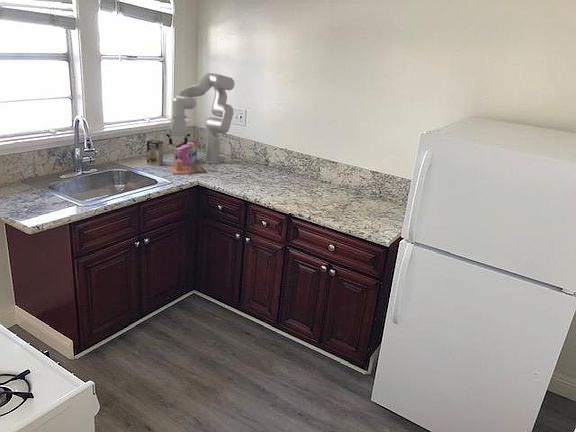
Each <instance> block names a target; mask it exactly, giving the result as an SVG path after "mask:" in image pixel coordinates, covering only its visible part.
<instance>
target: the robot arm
mask: <svg viewBox="0 0 576 432" xmlns="http://www.w3.org/2000/svg"><path fill="white" fill-rule="evenodd" d="M212 88H213V89H214V98H213V102H212V105H211V111H210V112H211V114H212V115H213V116H215V117H208V118H207V119H205V131H206V132H205V134H206V144H205V145H206V147H205V149H206V150H205V158H204V159H203V162H204V163H206V164H210V165H211V164H213V165H216V164H218V165H219V164H221V163H222V160H225V159H226V158H227V157H226V156H225V155H224V156H223V155H221V154H220V150H221V149H220V145H221V135H220V134H224V135H226V134H227V133H228V132H229V130H230V128H231V124H232V120H233V116H234V108H233V106H232V105H231V104H228V103H227V101H228V94H227V91H232V90H234V88H235V80H234V79H233V78H232V77H229V76H225V75H223V74H219V73H213V72H208V73H205V74H204V75H203V76H202V77H201V78H200V79H199V80H198V81H197V82H196V83H195V84H193V85H190V86H187V87H186V88H184V89H182V90H180V92H178V94H177V95H176V96H175V97H173V98H172V99H171V100H172V101H171V102H172V104H171V105H172V106H171V107H172V109H171V110H172V111H171V113H172V115H171V116H172V117H171V118H170V121H169V128H168V129H166V130H164V133H165V136H166V137H167V138H168V143H169V145H171V146H172V145H173V137H175V136H184V141H183V142H184V143H185V144H187V142H188V141H189V140H188V139H189V137H191V134H192V130H190V129H188V128H187V122H186V119H187V118H188V117H187V115H185V113H186V112H185V111H186V110H192V109H195V108H196V107H197V101H196V99H195V97H200V96H201V97H202V96H205V95H206V94H207V92H208V91H210V89H212ZM217 117H218V118H217ZM187 132H188V133H187Z"/></svg>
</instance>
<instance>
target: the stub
mask: <svg viewBox="0 0 576 432" xmlns="http://www.w3.org/2000/svg"><path fill="white" fill-rule="evenodd" d="M167 171H169V172H170V173H171V174H172V175H173V176H174V175H175V176H176V175H191V174H190V172H189V171H188V170H187V169H186V168H185V167H184V166H183V161H182V160H181V159H174V158H173V166H167Z"/></svg>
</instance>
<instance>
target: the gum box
mask: <svg viewBox="0 0 576 432" xmlns="http://www.w3.org/2000/svg"><path fill="white" fill-rule="evenodd" d="M173 149H174V150H173V151H174V152H173V160H174V159H181V160H182V161H183V166H190V164H192V163H194V162H196V161H197V159H198V141H194V140H188V142H187V144H185V143H184V141H183V142H181V143H179V144H177V145H175V146H174V148H173Z"/></svg>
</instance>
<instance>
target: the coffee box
mask: <svg viewBox="0 0 576 432" xmlns="http://www.w3.org/2000/svg"><path fill="white" fill-rule="evenodd" d="M146 164H147V165H149V166H155V167H160V166H163V165H164V141H161V140H155V139H150V140H146Z"/></svg>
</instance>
